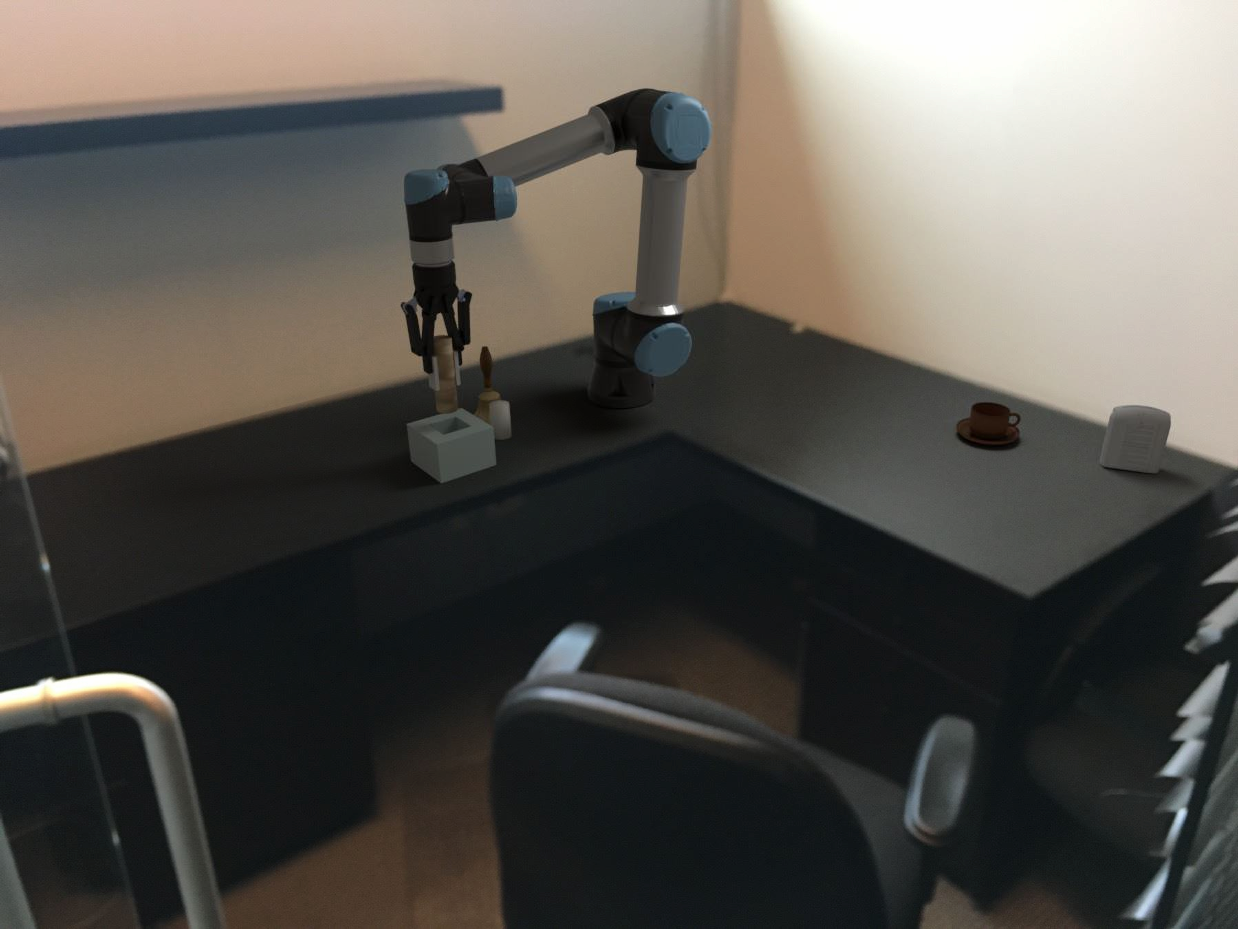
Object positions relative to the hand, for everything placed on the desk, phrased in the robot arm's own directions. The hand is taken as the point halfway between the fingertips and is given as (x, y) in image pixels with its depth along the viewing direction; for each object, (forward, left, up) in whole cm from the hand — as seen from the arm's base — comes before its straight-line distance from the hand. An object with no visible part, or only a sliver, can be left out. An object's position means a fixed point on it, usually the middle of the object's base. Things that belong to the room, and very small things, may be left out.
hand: (445, 385), depth 186 cm
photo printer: (-97, +83, -16) cm, 129 cm away
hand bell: (-17, -14, -16) cm, 28 cm away
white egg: (-14, -5, -16) cm, 22 cm away
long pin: (0, 0, -5) cm, 5 cm away
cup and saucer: (-89, +58, -17) cm, 107 cm away
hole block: (0, 0, -16) cm, 16 cm away
